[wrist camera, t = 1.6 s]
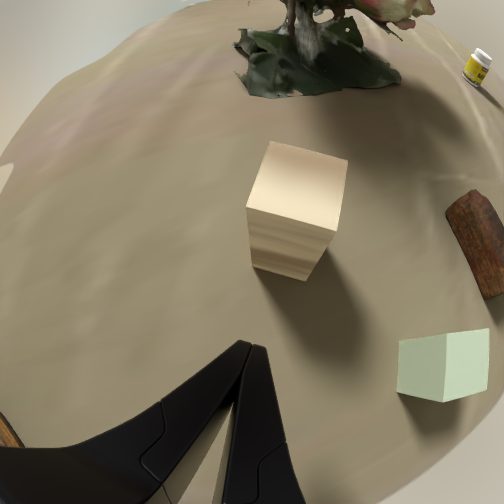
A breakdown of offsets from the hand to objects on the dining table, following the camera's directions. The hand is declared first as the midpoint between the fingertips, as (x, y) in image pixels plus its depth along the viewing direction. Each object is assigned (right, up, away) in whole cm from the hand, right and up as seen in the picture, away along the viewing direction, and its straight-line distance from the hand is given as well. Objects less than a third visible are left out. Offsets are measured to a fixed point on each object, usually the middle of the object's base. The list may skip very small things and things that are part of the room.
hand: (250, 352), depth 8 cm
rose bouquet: (+9, +35, +27) cm, 45 cm away
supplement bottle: (+46, +39, +27) cm, 66 cm away
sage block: (+15, -7, +11) cm, 20 cm away
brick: (+24, +3, +15) cm, 28 cm away
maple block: (+3, +3, +15) cm, 16 cm away
